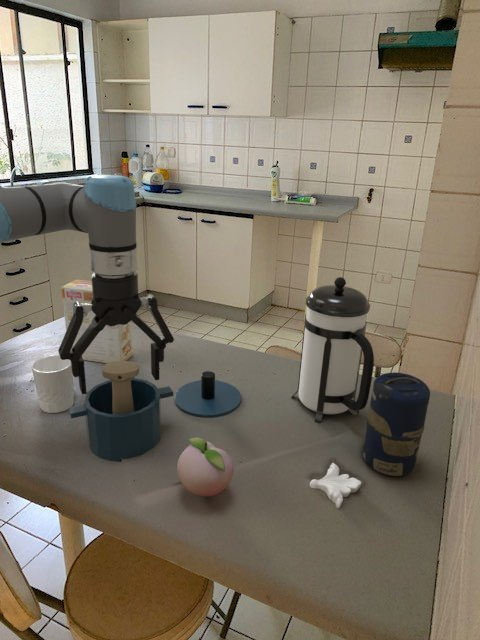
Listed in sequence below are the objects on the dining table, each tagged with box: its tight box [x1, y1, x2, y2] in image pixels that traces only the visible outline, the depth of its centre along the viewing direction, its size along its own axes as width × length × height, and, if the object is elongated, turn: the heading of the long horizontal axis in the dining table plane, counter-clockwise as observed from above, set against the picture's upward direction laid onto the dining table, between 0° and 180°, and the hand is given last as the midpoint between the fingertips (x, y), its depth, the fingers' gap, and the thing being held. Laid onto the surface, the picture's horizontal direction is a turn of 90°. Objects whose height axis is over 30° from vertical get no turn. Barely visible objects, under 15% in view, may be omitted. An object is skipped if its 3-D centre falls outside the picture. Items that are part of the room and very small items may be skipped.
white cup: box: [31, 354, 75, 414], centre depth 98 cm, size 8×8×10 cm
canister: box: [362, 372, 431, 477], centre depth 83 cm, size 10×10×18 cm
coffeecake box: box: [61, 279, 134, 364], centre depth 118 cm, size 15×7×20 cm, turn 77°
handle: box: [101, 360, 140, 414], centre depth 87 cm, size 5×6×15 cm
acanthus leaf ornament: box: [309, 462, 362, 510], centre depth 79 cm, size 8×7×2 cm
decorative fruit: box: [176, 437, 235, 497], centre depth 75 cm, size 9×8×10 cm
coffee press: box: [291, 276, 375, 424], centre depth 96 cm, size 17×16×30 cm
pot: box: [68, 377, 174, 462], centre depth 88 cm, size 14×19×10 cm
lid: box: [174, 370, 242, 418], centre depth 102 cm, size 15×15×7 cm
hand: (120, 383), depth 85 cm, fingers open, 13 cm apart
